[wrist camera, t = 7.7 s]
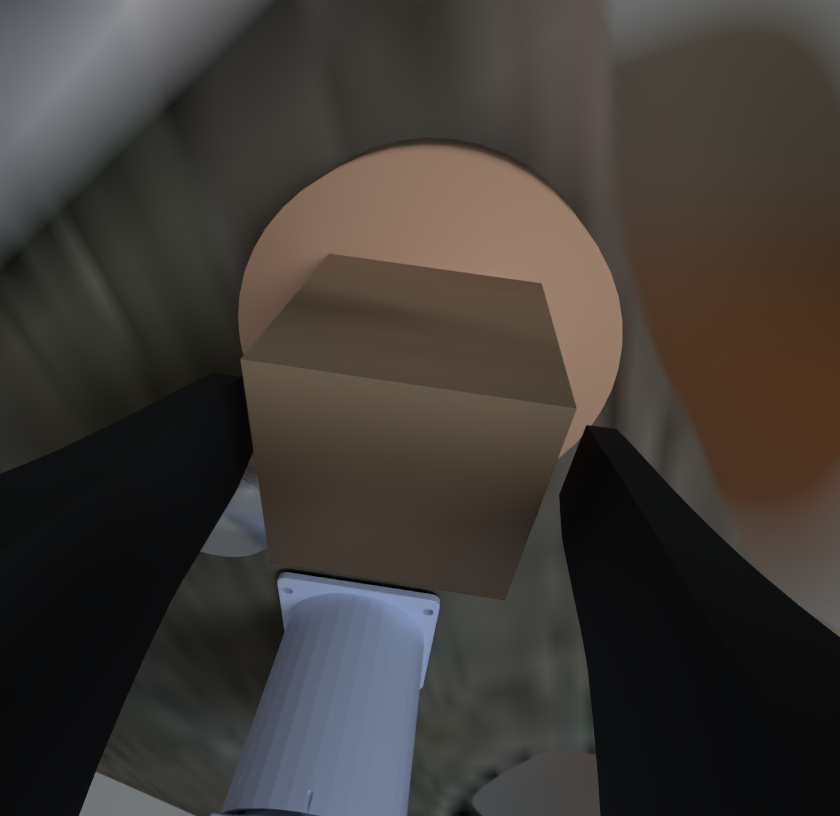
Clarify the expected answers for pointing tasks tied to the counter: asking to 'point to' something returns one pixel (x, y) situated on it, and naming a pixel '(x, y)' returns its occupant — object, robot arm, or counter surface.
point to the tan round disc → (449, 245)
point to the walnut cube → (407, 423)
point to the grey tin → (240, 520)
